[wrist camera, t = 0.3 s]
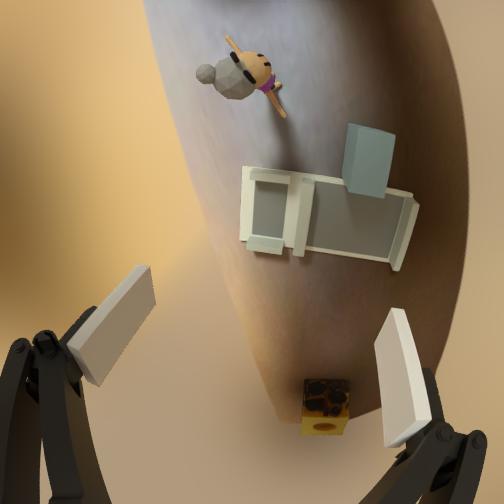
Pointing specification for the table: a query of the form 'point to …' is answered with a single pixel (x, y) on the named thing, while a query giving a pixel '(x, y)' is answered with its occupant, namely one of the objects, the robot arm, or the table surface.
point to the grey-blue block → (367, 160)
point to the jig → (323, 216)
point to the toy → (241, 75)
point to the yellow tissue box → (325, 407)
